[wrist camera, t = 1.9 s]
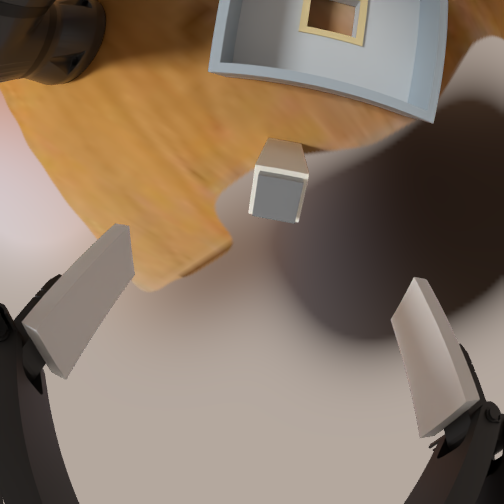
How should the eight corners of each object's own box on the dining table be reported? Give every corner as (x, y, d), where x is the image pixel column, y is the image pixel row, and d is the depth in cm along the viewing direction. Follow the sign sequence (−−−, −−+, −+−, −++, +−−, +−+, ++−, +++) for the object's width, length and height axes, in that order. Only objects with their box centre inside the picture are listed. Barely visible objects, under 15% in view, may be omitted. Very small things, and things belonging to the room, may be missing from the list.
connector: (263, 168, 34) (246, 219, 21) (268, 137, 32) (253, 168, 19) (295, 174, 34) (298, 229, 21) (301, 143, 31) (310, 179, 19)
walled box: (226, 76, 28) (208, 71, 21) (249, -52, 17) (238, -81, 11) (404, 115, 27) (433, 123, 21) (419, -11, 17) (446, -28, 10)
